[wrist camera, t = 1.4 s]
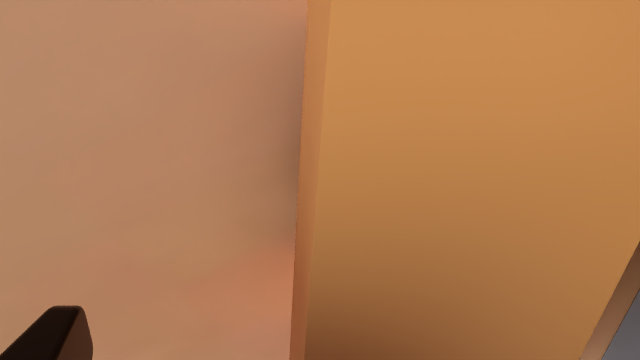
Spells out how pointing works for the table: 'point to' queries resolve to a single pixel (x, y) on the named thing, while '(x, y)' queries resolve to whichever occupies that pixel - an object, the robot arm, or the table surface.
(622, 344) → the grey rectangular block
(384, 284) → the wooden arch block
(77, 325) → the robot arm
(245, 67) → the table surface
